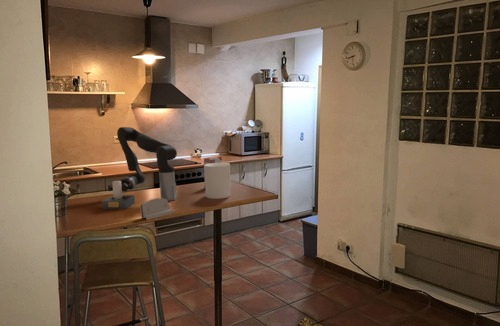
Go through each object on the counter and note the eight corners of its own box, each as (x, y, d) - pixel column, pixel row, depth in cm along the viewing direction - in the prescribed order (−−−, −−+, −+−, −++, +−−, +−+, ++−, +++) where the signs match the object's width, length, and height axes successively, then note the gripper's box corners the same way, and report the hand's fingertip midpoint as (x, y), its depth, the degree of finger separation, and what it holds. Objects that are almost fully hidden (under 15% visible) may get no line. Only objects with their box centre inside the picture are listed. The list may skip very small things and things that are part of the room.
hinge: (146, 220, 205) (141, 201, 206) (141, 221, 208) (137, 202, 209) (173, 213, 217) (169, 195, 218) (169, 214, 220) (164, 197, 221)
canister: (203, 194, 261) (201, 163, 258) (227, 192, 265) (226, 161, 263) (208, 199, 246) (207, 167, 243) (234, 197, 250) (232, 165, 248)
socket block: (134, 203, 243) (134, 195, 242) (125, 209, 228) (125, 200, 228) (112, 203, 244) (111, 195, 243) (101, 209, 230) (101, 201, 229)
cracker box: (211, 188, 279) (209, 158, 276) (204, 187, 283) (202, 158, 280) (223, 184, 291) (222, 155, 288) (216, 184, 294) (215, 155, 291)
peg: (124, 204, 238) (122, 180, 236) (121, 206, 234) (119, 182, 231) (116, 204, 239) (114, 180, 237) (113, 206, 234) (110, 182, 232)
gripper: (115, 178, 249) (103, 183, 233) (137, 177, 248) (128, 182, 232) (116, 190, 250) (105, 196, 234) (138, 189, 249) (129, 195, 233)
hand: (116, 189), depth 233 cm, fingers open, 8 cm apart
